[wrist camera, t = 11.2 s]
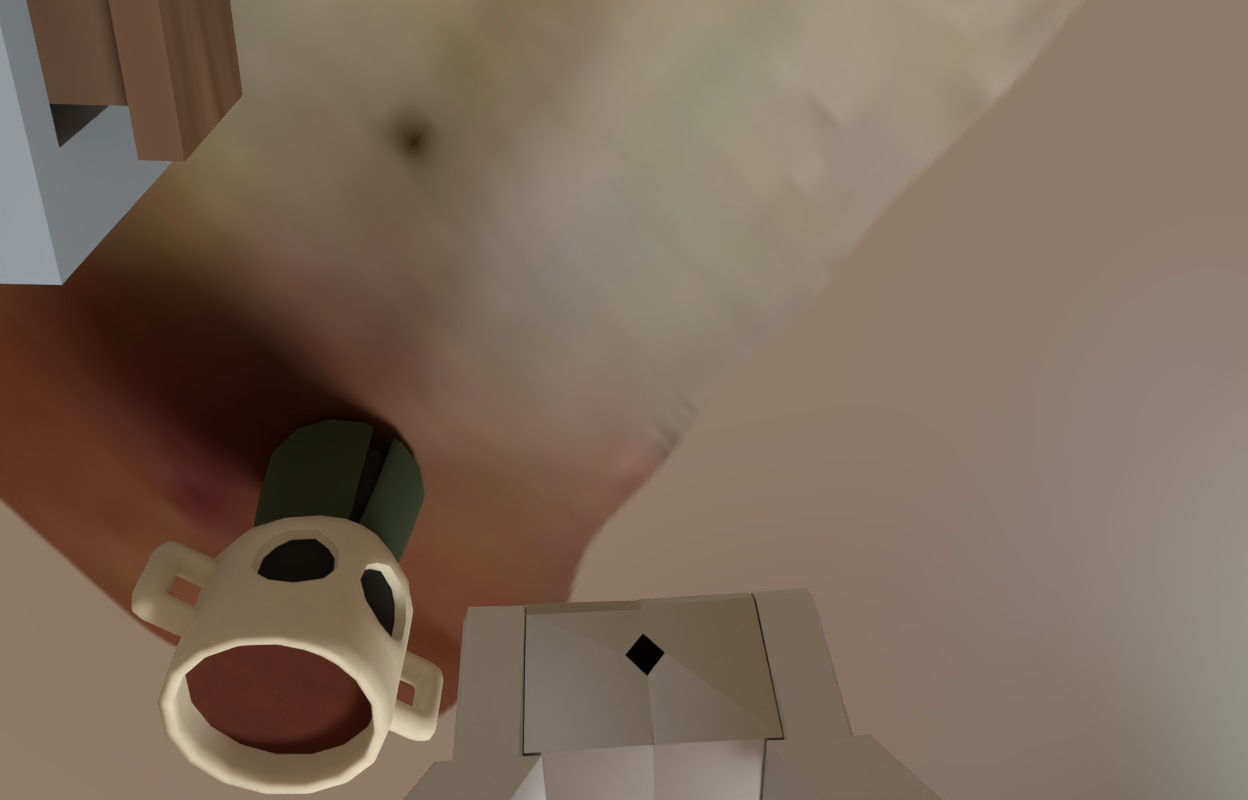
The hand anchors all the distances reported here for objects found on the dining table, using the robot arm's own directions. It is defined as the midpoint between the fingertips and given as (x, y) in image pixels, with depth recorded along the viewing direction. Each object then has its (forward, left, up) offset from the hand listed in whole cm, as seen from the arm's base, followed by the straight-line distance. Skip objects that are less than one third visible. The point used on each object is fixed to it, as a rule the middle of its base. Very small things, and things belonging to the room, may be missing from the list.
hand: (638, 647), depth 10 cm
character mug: (+22, 0, -31) cm, 38 cm away
